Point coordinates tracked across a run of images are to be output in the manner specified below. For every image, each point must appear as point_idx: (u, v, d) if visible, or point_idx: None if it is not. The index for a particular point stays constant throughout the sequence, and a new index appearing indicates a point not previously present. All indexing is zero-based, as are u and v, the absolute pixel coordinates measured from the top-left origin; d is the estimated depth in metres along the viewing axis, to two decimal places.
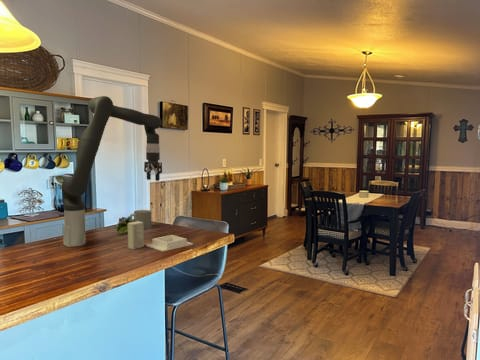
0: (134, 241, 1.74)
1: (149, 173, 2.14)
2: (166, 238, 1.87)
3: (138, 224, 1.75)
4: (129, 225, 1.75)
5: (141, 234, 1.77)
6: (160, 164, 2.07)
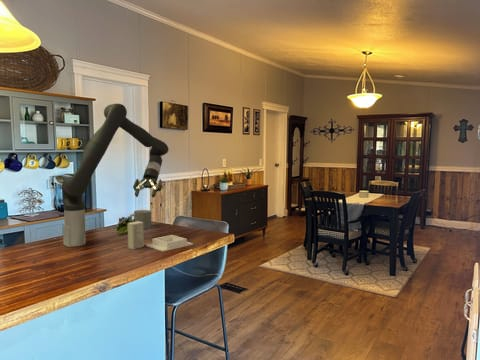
0: (134, 241, 1.74)
1: (138, 190, 1.90)
2: (166, 238, 1.87)
3: (138, 224, 1.75)
4: (129, 225, 1.75)
5: (141, 234, 1.77)
6: (161, 182, 1.92)
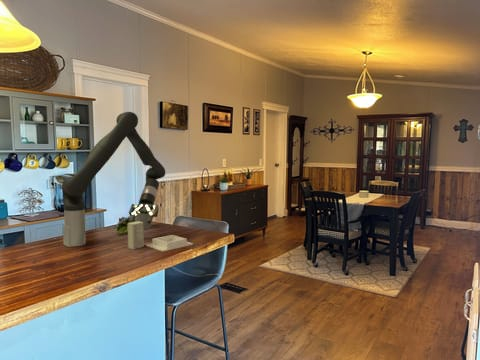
0: (134, 241, 1.74)
1: (134, 216, 1.86)
2: (166, 238, 1.87)
3: (138, 224, 1.75)
4: (129, 225, 1.75)
5: (141, 234, 1.77)
6: (158, 208, 1.88)
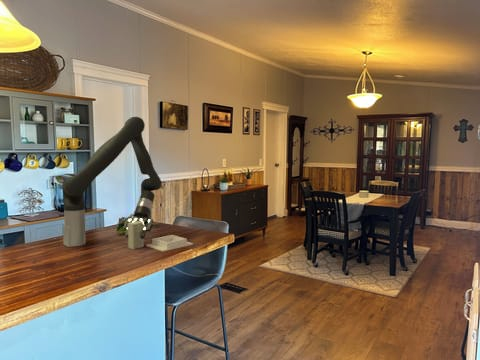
0: (134, 241, 1.74)
1: None
2: (166, 238, 1.87)
3: (138, 224, 1.75)
4: (129, 225, 1.75)
5: None
6: (152, 222, 1.81)
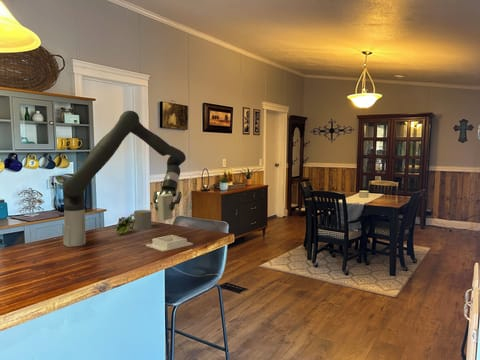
0: (164, 213, 1.78)
1: None
2: (166, 238, 1.87)
3: (167, 196, 1.79)
4: (159, 197, 1.78)
5: (170, 206, 1.81)
6: (181, 195, 1.84)
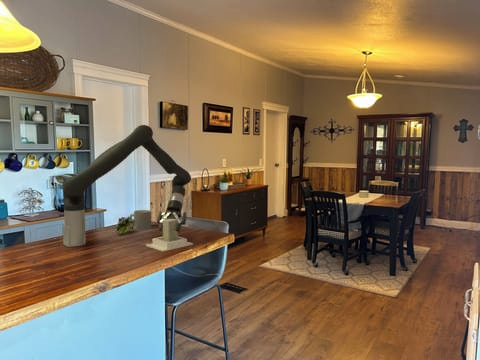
0: (169, 238, 1.79)
1: (162, 224, 1.84)
2: None
3: (173, 221, 1.80)
4: (164, 222, 1.79)
5: (175, 231, 1.82)
6: (186, 215, 1.86)
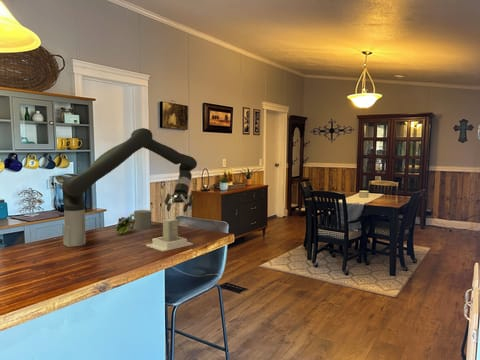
0: (169, 238, 1.79)
1: (170, 205, 1.96)
2: None
3: (173, 221, 1.80)
4: (164, 222, 1.79)
5: (175, 231, 1.82)
6: (192, 197, 1.98)
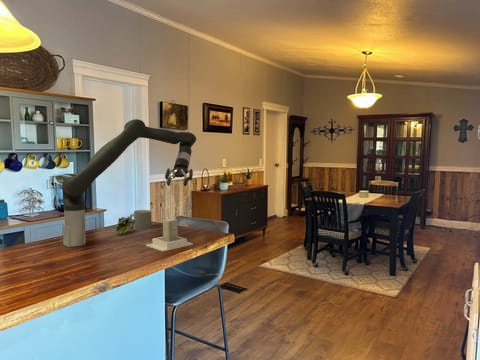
0: (169, 238, 1.79)
1: (170, 180, 1.95)
2: None
3: (173, 221, 1.80)
4: (164, 222, 1.79)
5: (175, 231, 1.82)
6: (192, 172, 1.97)
